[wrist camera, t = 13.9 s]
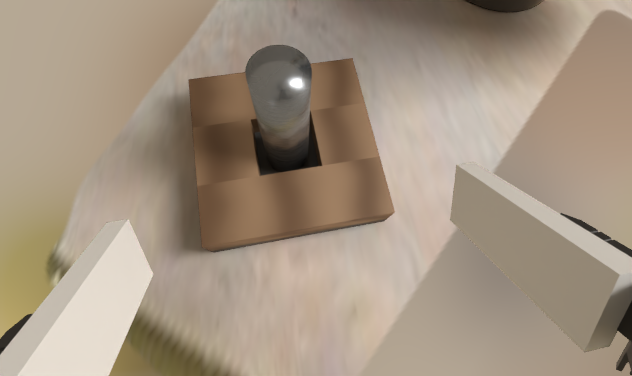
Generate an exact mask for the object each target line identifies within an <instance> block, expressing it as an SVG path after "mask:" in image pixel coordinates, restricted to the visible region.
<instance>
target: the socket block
mask: <svg viewBox="0 0 632 376" xmlns="http://www.w3.org/2000/svg"><path fill="white" fill-rule="evenodd" d="M310 65H311V68H312V81H311V102H310V124H309V145H308V158H307V161H306V163H305V165H304V166H303V167H302V168H301V169H299V170H293V171H287V172H279V171H277V170H275V169H274V168H273V167H272V166H271V165H270V164H269V162H268V159H267V156H266V152H265V148H264V144H263V140H262V137H261V133H260V129H259V125H258V122H257V118H256V114H255V110H254V106H253V103H252V99H251V95H250V91H249V87H248V84H247V80H246V74H245V72H243V73H235V74H228V75H220V76H212V77H205V78H197V79H189V91H190V104H191V116H192V129H193V141H194V154H195V167H196V179H197V192H198V205H199V217H200V230H201V242H202V248H205V249H207V250H210V251H212V252H218V251H224V250H229V249H235V248H240V247H246V246H251V245H256V244H262V243H267V242H273V241H278V240H284V239H289V238H294V237H300V236H305V235H311V234H316V233H322V232H327V231H332V230H338V229H343V228H349V227H354V226H360V225H365V224H370V223H376V222H381V221H385V220H386V219H387V218H388V217H390V216H391V215H392V214H393V213H394V212H395V211H394V207H393V204H392V200H391V197H390V193H389V189H388V186H387V182H386V178H385V175H384V171H383V167H382V164H381V160H380V157H379V153H378V149H377V146H376V142H375V138H374V135H373V131H372V128H371V124H370V120H369V117H368V113H367V109H366V106H365V102H364V98H363V95H362V91H361V88H360V84H359V80H358V77H357V73H356V69H355V66H354V62H353V58H351V59H343V60H336V61H328V62H320V63H312V64H310Z"/></svg>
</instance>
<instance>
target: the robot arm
mask: <svg viewBox="0 0 632 376" xmlns="http://www.w3.org/2000/svg"><path fill="white" fill-rule="evenodd" d="M468 1H470V2H472V3H474V4H476V5H478V6H481V7H484V8H487V9H491V10H496V11H504V12H515V11H522V10H527V9H530V8H532V7H535V6H537V5H538V4H540V3H541V2H543V1H544V0H468ZM450 220H451V221H452V222H453V223H454V224H455V225H456V226H457V227H458V228H459V229H460V230H461V231H462V232H463V233H464V234H465V235H466V236H467V237H468V238H469V239H470V240H471V241H472V242H473V243H474V244H475V245H476V246H477V247H478V248H479V249H480V250H481V251H482V252H483V253H484V254H485V255H486V256H487V257H488V258H489V259H490V260H491V261H492V262H493V263H494V264H495V265H496V266H497V267H498V268H499V269H500V270H501V271H502V272H503V273H504V274H505V275H506V276H507V277H509V279H510V280H511V281H512V282H513V283H514V284H515V285H516V286H517V287H518V288H520V290H521V291H522V292H523V293H524V294H526V295H527V296H528V297H529V298H530V299H531V300H532V301H533V302H534V303H535V304H536V305H537V306H538V307H539V308H540V309H541V310H542V311H543V312H544V313H545V314H546V315H547V316H548V317H549V318H550V319H551V320H552V321H553V322H554V323H555V324H556V325H557V326H558V327H559V328H560V329H561V330H562V331H563V332H564V333H565V334H566V335H567V336H568V337H569V338H570V339H571V340H572V341H573V342H574V343H575V344H576V345H577V346H578V347H579V348H580V349H581V350H582V351H583V352H587V351H592V350H596V349H600V348H604V347H609V346H610V344H611V342H612V341H613V339H614V337H615V335H616V333H617V331H619V332H620V333H622V334H623V335H624V336H625V337H627V339H629V342H628V344H627V345H626V347H625V349H624V351H623V352H622V354H621V356H620V358H619V360H618V362H617V365H616V370H619V371H622V370H623V368H624V366H625V365H626V363H627V362H629V364H630V368H631V372H630V375H632V250H631V249H629V248H627V247H626V246H624V245H622V244H620V243H619V242H617V241H615V240H611V238H610V237H609V236H607V235H605V234H604V233H602V232H598V230H596V229H595V228H593V227H592V226H590V225H588V224H586V223H585V222H583V221H581V220H578V219H576V218H573V217H570V216H568V215H565V214H562V213H561V214H559V213H557V212H556V211H554V210H552V209H551V208H549V207H548V206H546V205H544V204H543V203H541V202H539V201H538V200H536V199H534V198H533V197H531V196H529V195H528V194H526V193H524V192H523V191H521V190H519V189H518V188H516V187H515V186H513V185H511V184H510V183H508V182H506V181H505V180H503V179H501V178H500V177H498V176H496V175H495V174H493V173H491V172H490V171H488V170H486V169H485V168H483V167H482V166H480V165H478V164H477V163H475V162H470V163H464V164H458V165H457V166H456V174H455V183H454V191H453V200H452V209H451V217H450ZM152 276H153V273H152V270H151V268H150V266H149V264H148V262H147V259H146V257H145V255H144V253H143V251H142V248H141V246H140V244H139V242H138V240H137V237H136V235H135V233H134V231H133V229H132V226H131V224H130V222H129V220H128V219H125V220H119V221H113V222H107V223H106V224H105V225H104V227H103V228H102V229H101V230H100V232H99V233H98V234H97V235H96V237H95V238H94V239H93V240H92V242H91V243H90V244H89V245H88V246H87V248H86V249H85V250H84V251H83V253H82V254H81V255H80V256H79V258H78V259H77V260H76V261H75V263H74V264H73V265H72V266H71V268H70V269H69V270H68V271H67V273H66V274H65V275H64V276H63V278H62V279H61V280H60V281H59V282H58V284H57V285H56V286H55V287H54V289H53V290H52V291H51V292H50V294H49V295H48V296H47V297H46V299H45V300H44V301H43V302H42V304H41V305H40V306H39V307H38V309H37V310H36V311H35V312H34V313H33V314H29V315H26V316H25V317H24V318H23V319H22V320H20V321H19V322H18V323H17V324H15V325H14V326H13V327H12V328H10V329H9V330H8V331H7V332H6V333H5V334H4V335H3V336H2V337H1V339H0V376H109V374H110V371H111V369H112V367H113V365H114V362H115V360H116V358H117V356H118V353H119V351H120V349H121V346H122V344H123V342H124V340H125V337H126V335H127V333H128V331H129V328H130V326H131V324H132V322H133V319H134V317H135V315H136V313H137V310H138V308H139V306H140V303H141V301H142V299H143V297H144V294H145V292H146V290H147V288H148V285H149V283H150V281H151V278H152Z"/></svg>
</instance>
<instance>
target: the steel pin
mask: <svg viewBox="0 0 632 376" xmlns="http://www.w3.org/2000/svg"><path fill="white" fill-rule="evenodd" d="M245 74H246V80H247V84H248V87H249V91H250V95H251V99H252V103H253V106H254V110H255V114H256V118H257V122H258V125H259V129H260V133H261V137H262V140H263V144H264V148H265V152H266V156H267V159H268V162H269V164H270V165H271V166H272V167H273V168H274V169H275V170H277V171H279V172H287V171H293V170H299V169H301V168H302V167H303V166H304V165H305V163H306V161H307V158H308V145H309V124H310V102H311V81H312V68H311V65H310V62H309V60H308V59H307V57H306V56H305V55H304V54H303V53H302V52H300V51H299V50H297V49H295V48H293V47H290V46H285V45H272V46H268V47H265V48H262V49H260V50H259V51H257V52H256V53H255V54H254V55H253V56H252V57H251V58H250V59H249V61H248V63H247V66H246V71H245Z"/></svg>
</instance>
